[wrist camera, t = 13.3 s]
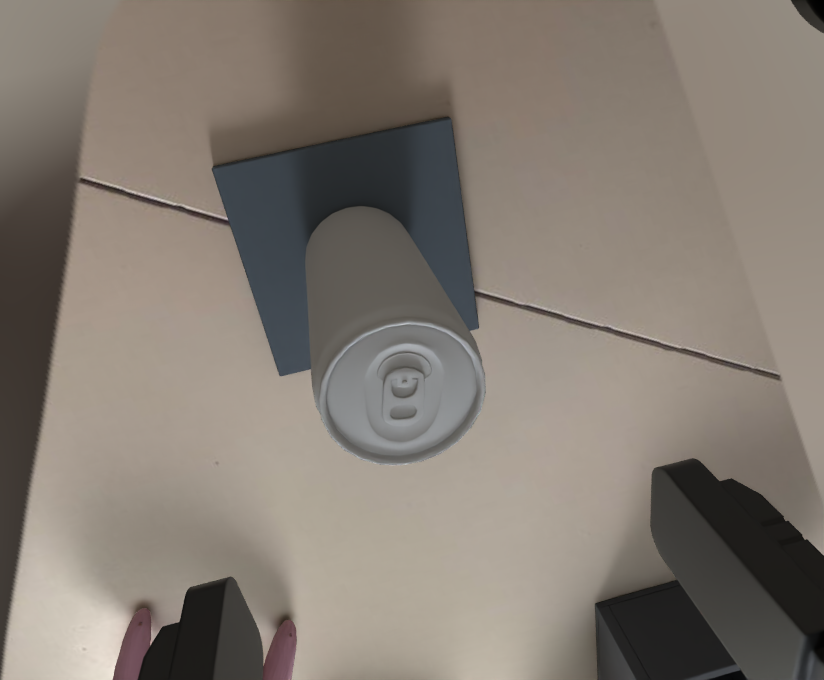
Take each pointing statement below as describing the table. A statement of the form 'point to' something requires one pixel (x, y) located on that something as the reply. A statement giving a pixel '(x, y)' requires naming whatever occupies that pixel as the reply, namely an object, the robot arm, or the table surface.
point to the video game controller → (139, 638)
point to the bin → (659, 639)
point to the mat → (333, 191)
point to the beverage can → (386, 343)
